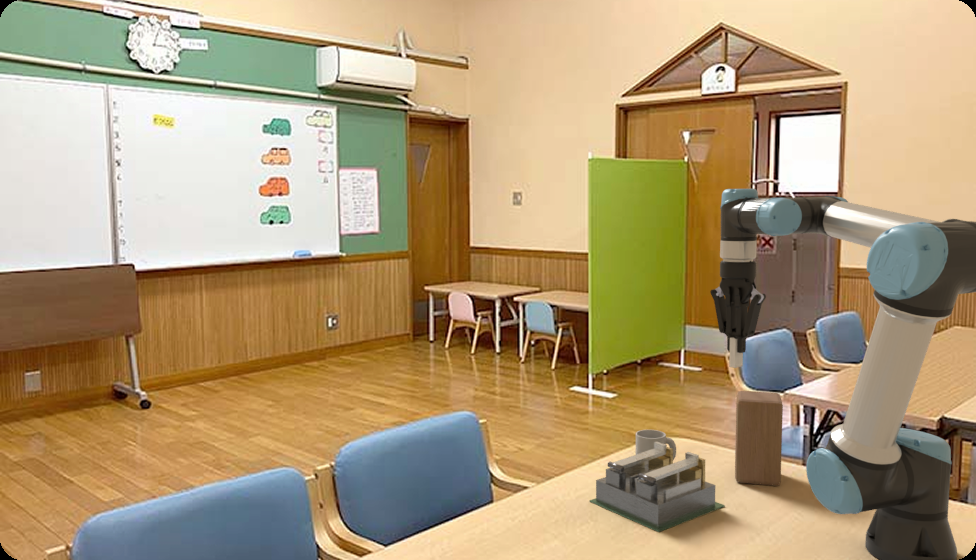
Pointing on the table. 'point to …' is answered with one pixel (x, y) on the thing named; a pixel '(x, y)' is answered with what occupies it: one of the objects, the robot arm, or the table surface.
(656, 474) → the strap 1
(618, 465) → the silver long flat bar
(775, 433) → the wooden block
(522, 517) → the table surface
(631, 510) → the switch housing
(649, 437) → the cup
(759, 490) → the table surface
